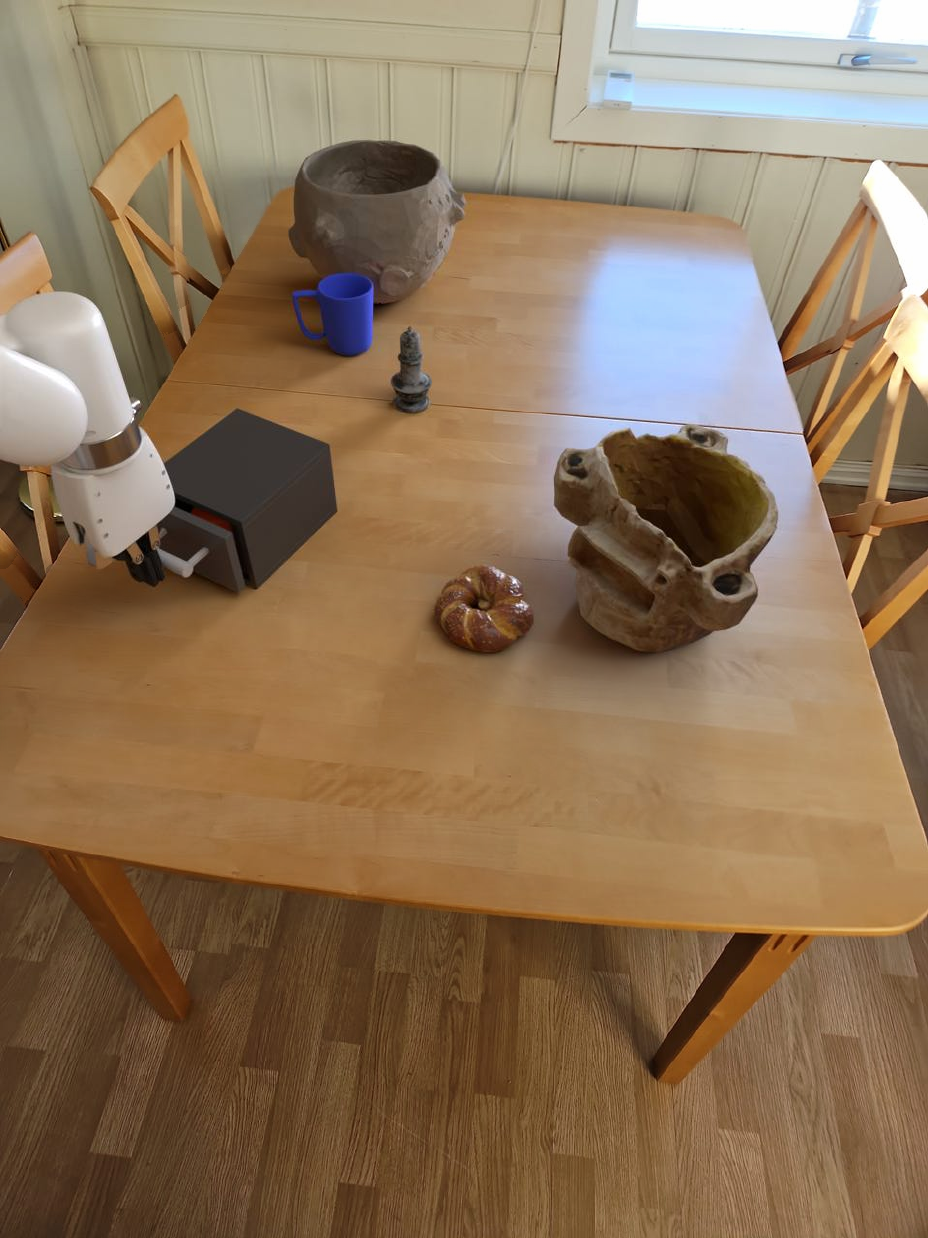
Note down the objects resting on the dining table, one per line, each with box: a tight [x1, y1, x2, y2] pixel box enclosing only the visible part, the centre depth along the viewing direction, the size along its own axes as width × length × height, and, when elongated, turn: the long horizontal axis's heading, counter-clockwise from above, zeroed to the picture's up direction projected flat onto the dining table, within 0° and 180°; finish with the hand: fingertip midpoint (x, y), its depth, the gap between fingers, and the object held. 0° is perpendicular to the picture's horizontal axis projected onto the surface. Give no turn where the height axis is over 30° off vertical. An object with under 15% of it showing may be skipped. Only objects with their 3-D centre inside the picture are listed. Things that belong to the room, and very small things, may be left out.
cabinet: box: [163, 407, 338, 590], centre depth 97 cm, size 16×14×10 cm
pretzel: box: [434, 564, 535, 653], centre depth 91 cm, size 12×11×4 cm
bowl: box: [287, 139, 467, 305], centre depth 134 cm, size 27×29×20 cm
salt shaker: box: [390, 325, 433, 414], centre depth 115 cm, size 6×6×12 cm
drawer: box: [157, 498, 248, 594], centre depth 94 cm, size 19×13×8 cm, turn 150°
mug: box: [291, 273, 374, 356], centre depth 125 cm, size 8×12×10 cm
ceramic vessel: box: [553, 423, 779, 654], centre depth 85 cm, size 23×24×25 cm
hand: (149, 577), depth 87 cm, fingers closed
